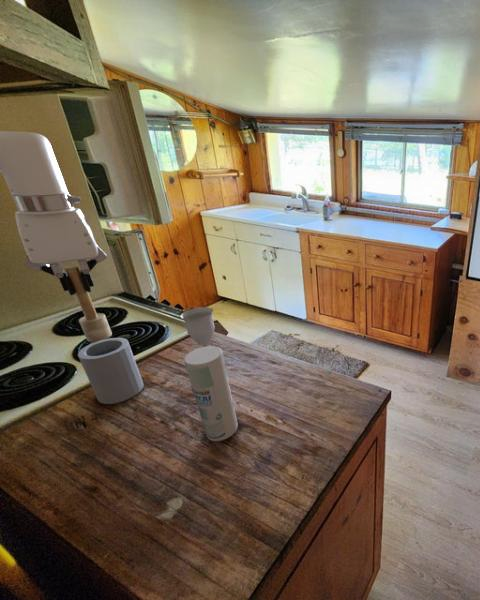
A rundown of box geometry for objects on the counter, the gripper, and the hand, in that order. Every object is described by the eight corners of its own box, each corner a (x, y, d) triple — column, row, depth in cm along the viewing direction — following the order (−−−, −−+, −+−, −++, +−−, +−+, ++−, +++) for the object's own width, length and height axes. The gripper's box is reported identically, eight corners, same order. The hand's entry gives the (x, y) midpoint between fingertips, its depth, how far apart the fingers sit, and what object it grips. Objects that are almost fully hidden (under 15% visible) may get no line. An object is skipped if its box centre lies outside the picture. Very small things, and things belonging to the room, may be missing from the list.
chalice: (221, 359, 95) (208, 304, 87) (229, 370, 91) (217, 313, 83) (193, 369, 90) (177, 312, 83) (200, 381, 86) (184, 322, 78)
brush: (82, 342, 72) (50, 270, 65) (94, 332, 76) (66, 263, 69) (105, 341, 73) (76, 270, 66) (116, 331, 77) (90, 263, 70)
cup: (88, 405, 77) (67, 360, 71) (111, 381, 85) (93, 339, 79) (132, 401, 78) (114, 357, 73) (150, 378, 86) (135, 336, 81)
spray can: (245, 423, 74) (229, 349, 65) (222, 445, 68) (202, 367, 60) (222, 416, 76) (203, 343, 67) (198, 437, 70) (175, 360, 61)
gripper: (99, 198, 69) (126, 278, 77) (-15, 203, 60) (29, 294, 68) (100, 203, 64) (129, 288, 72) (-24, 210, 55) (25, 307, 62)
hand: (81, 290), depth 70 cm, fingers closed on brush, 2 cm apart
